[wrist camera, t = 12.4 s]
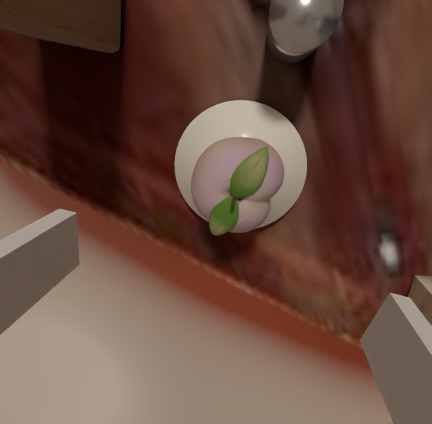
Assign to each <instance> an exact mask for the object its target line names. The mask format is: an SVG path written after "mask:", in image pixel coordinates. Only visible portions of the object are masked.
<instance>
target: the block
mask: <svg viewBox="0 0 432 424" xmlns="http://www.w3.org/2000/svg"><path fill="white" fill-rule="evenodd" d="M0 28H2V29H6V30H10V31H13V32H17V33H20V34H24V35H27V36H31V37H34V38H38V39H42V40H47V41H52V42H57V43H61V44H66V45H71V46H76V47H81V48H86V49H91V50H96V51H101V52H106V53H113V52H117V51H118V50H119V47H120V34H121V0H0Z"/></svg>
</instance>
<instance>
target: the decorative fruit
mask: <svg viewBox="0 0 432 424" xmlns="http://www.w3.org/2000/svg"><path fill="white" fill-rule="evenodd" d="M283 180H284V166H283V162H282V159H281V157H280V155H279V154H278V153H277V151H276V150H275V149H274V148H273V147H272V146H271V145H269V144H268V143H266V142H265V141H262V140H260V139H256V138H249V137H230V138H225V139H222V140H219V141H217V142H215V143H213V144H212V145H210V146H209V147H208V148H207V149H206V150H205V151H204V152H203V153H202V154H201V156H200V157H199V158H198V160H197V162H196V165H195V168H194V171H193V175H192V179H191V193H192V198H193V201H194V204H195V206H196V208H197V210H198V211H199V212H200V214H201V215H202V216H203V217H205V218H206V219H207V220H208V221H209V228H210V231H211V233H212V234H213V235H222V234H224V233H226V232H228V231H229V232H234V233H243V232H248V231H251V230H253V229H255V228H257V227H259V226H260V225H261V224H262V223H263V222H264V221H265V219H266V218H267V216H268V214H269V210H270V198H272V197H273V196H274V195H275V194H276V193H277V192H278V190H279V189H280V187H281V186H282V183H283Z"/></svg>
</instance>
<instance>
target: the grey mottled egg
mask: <svg viewBox="0 0 432 424" xmlns="http://www.w3.org/2000/svg"><path fill="white" fill-rule="evenodd" d="M343 4H344V0H271V4H270V10H269V20H268V29H267V44H268V47H269V50H270V52H271V53H272V55H273V56H274V57H275V58H276V59H277V60H279V61H281V62H283V63H288V64H292V63H297V62H300V61H302V60H304V59H305V58H307V57H308V56H309V55H310V54H311V53H312V52H313V51H314V50H315V49H317V48H318V47H319V46H320V45H321V44H322V43H323V42H324V41H325V40H326V39H327V38H328V37H329V36H330V35H331V34H332V32H333V31H334V29H335V28H336V26H337V24H338V22H339V20H340V17H341V14H342V11H343Z"/></svg>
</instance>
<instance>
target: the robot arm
mask: <svg viewBox="0 0 432 424" xmlns="http://www.w3.org/2000/svg"><path fill="white" fill-rule="evenodd" d="M78 265H79V248H78V233H77V215H76V213H75V212H71V211H67V210H63V209H58V210H56V211H54V212H53V213H51V214H49V215H47V216H45V217H43V218H41V219H39V220H37V221H35V222H34V223H32V224H30V225H28V226H26V227H24V228H22V229H20V230H18V231H17V232H15V233H13V234H11V235H9V236H7V237H5V238H3V239H2V240H0V334H2V333H3V332H4V331H5V330H6V329H7V328H8V327H10V326H11V325H12V324H13V323H14V322H15V321H16V320H17V319H18V318H20V317H21V316H22V315H23V314H24V313H25V312H26V311H28V309H30V308H31V307H32V306H33V305H34V304H35V303H36V302H38V301H39V300H40V299H41V298H42V297H43V296H44V295H45V294H47V293H48V292H49V291H50V290H51V289H52V288H53V287H55V286H56V285H57V284H58V283H59V282H60V281H61V280H62V279H64V278H65V277H66V276H67V275H68V274H69V273H70V272H71V271H73V270H74V269H75V268H76V267H77V266H78ZM360 342H361V345H362V347H363V350H364V352H365V354H366V357H367V359H368V362H369V364H370V367H371V369H372V372H373V374H374V377H375V379H376V382H377V384H378V386H379V389H380V391H381V394H382V396H383V399H384V401H385V404H386V406H387V409H388V411H389V413H390V416H391V418H392V421H393V423H394V424H432V326H431V325H430V323H429V322H428V321H427V319H426V318H425V317H424V316H423V314H422V313H421V312H420V310H419V309H418V308H417V306H416V305H415V304H414V302H413V301H412V300H411V298H409V297H405V296H401V295H397V294H393V293H389V295H388V297H387V298H386V300H385V301H384V303H383V304H382V306H381V308H380V309H379V311H378V312H377V314H376V316H375V317H374V319H373V320H372V322H371V323H370V325H369V327H368V328H367V330H366V331H365V333H364V334H363V336H362V338H361V339H360Z"/></svg>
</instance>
